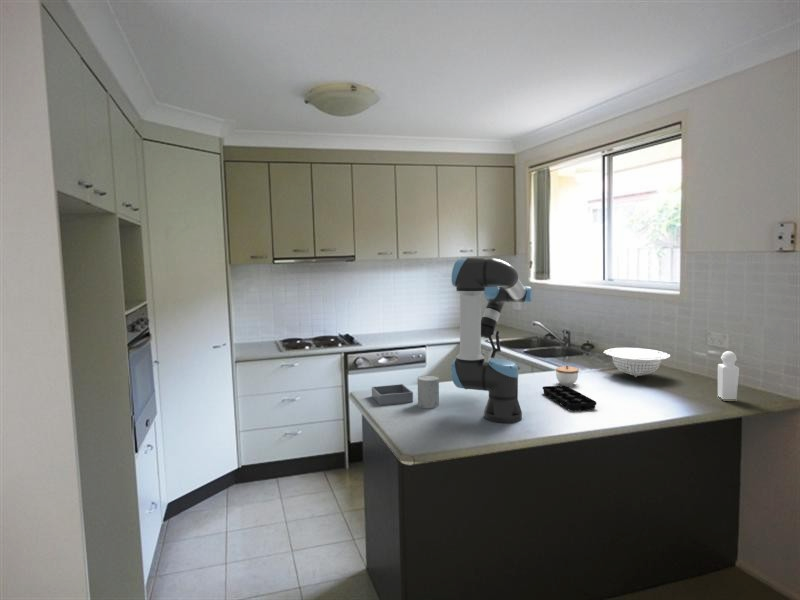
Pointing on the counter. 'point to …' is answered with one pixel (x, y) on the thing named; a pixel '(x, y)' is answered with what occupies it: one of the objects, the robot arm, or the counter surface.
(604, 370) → the counter surface
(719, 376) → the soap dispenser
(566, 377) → the lidded jar
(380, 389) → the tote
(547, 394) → the egg carton
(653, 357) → the colander
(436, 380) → the gray cylinder
